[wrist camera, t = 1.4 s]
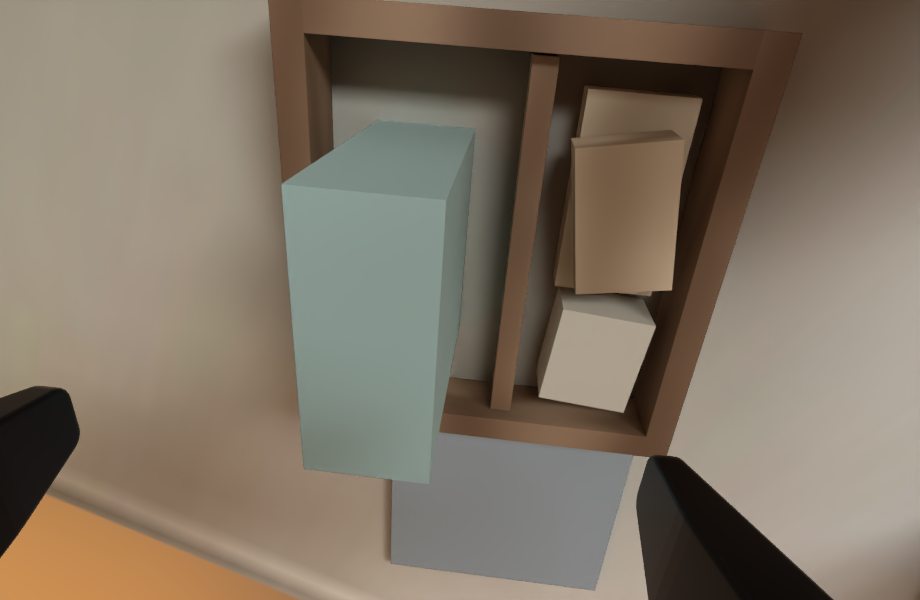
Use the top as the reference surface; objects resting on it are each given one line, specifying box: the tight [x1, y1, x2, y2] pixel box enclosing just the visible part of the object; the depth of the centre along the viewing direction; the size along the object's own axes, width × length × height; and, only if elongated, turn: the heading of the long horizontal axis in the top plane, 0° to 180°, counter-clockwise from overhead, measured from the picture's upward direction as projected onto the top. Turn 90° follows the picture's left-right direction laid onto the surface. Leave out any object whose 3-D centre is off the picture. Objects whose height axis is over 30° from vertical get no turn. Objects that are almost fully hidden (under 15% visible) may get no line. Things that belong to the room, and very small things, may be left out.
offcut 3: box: [537, 286, 656, 413], centre depth 22 cm, size 3×4×2 cm
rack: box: [268, 0, 802, 457], centre depth 20 cm, size 15×15×2 cm
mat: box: [391, 432, 633, 591], centre depth 27 cm, size 11×11×1 cm
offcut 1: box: [553, 85, 703, 296], centre depth 19 cm, size 4×7×2 cm, turn 176°
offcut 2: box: [571, 130, 685, 294], centre depth 18 cm, size 3×5×2 cm, turn 6°
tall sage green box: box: [281, 120, 475, 484], centre depth 17 cm, size 4×8×9 cm, turn 176°
